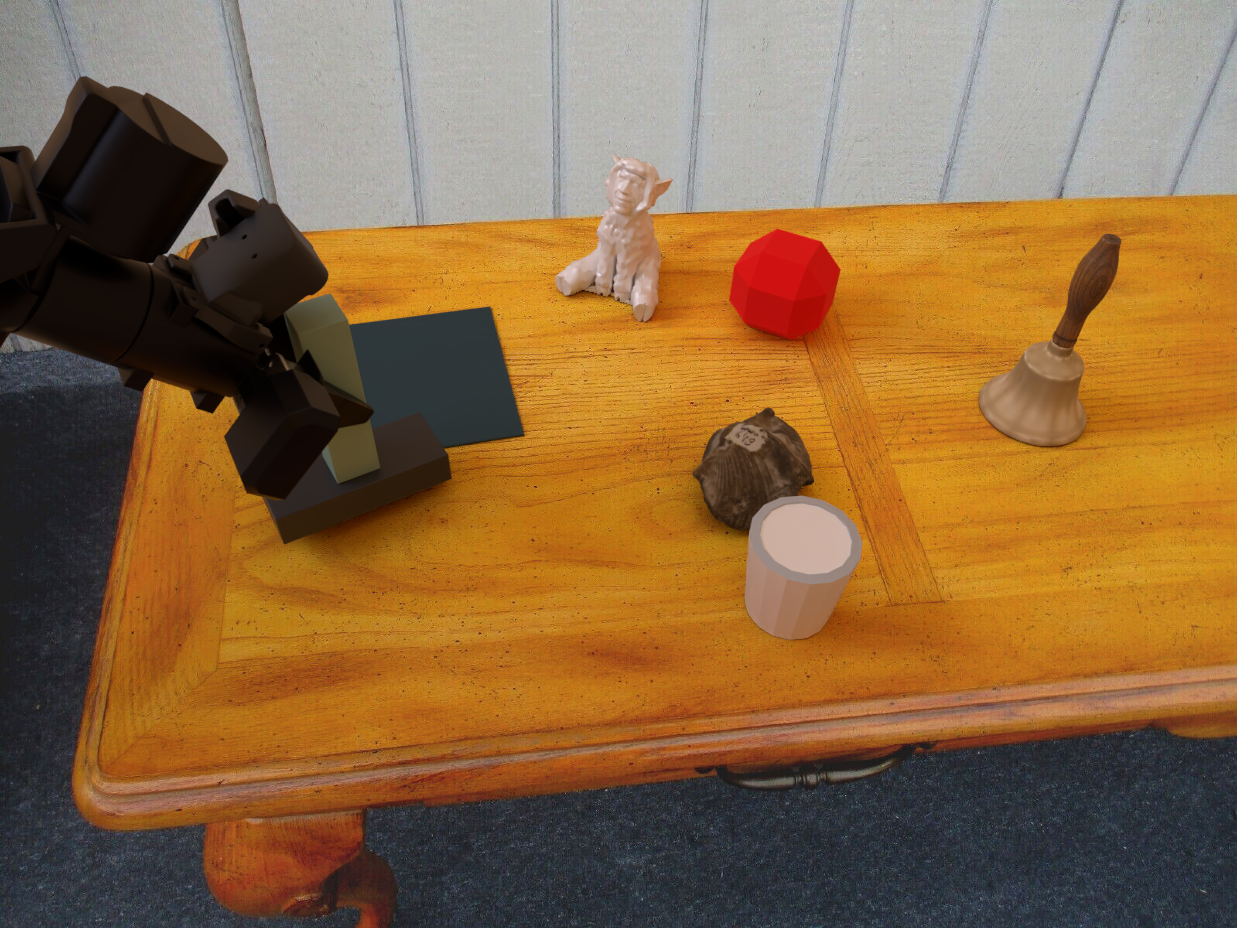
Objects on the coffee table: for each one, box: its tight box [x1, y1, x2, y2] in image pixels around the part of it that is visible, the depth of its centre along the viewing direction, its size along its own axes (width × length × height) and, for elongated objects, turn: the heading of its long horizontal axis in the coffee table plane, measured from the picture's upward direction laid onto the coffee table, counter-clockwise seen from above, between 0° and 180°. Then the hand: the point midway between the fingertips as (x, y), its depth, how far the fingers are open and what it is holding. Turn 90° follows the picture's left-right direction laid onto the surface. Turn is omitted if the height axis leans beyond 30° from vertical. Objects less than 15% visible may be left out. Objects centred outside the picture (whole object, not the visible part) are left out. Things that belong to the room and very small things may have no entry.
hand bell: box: [978, 233, 1122, 447], centre depth 70 cm, size 8×8×16 cm
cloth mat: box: [349, 305, 525, 449], centre depth 76 cm, size 20×16×1 cm
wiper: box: [261, 293, 453, 545], centre depth 61 cm, size 12×5×15 cm, turn 121°
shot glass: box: [744, 495, 863, 641], centre depth 60 cm, size 7×7×7 cm
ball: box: [728, 228, 842, 341], centre depth 80 cm, size 8×8×8 cm
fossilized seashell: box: [692, 407, 815, 531], centre depth 68 cm, size 8×7×10 cm
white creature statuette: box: [554, 153, 674, 323], centre depth 81 cm, size 10×9×12 cm
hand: (361, 400), depth 62 cm, fingers closed on wiper, 3 cm apart
